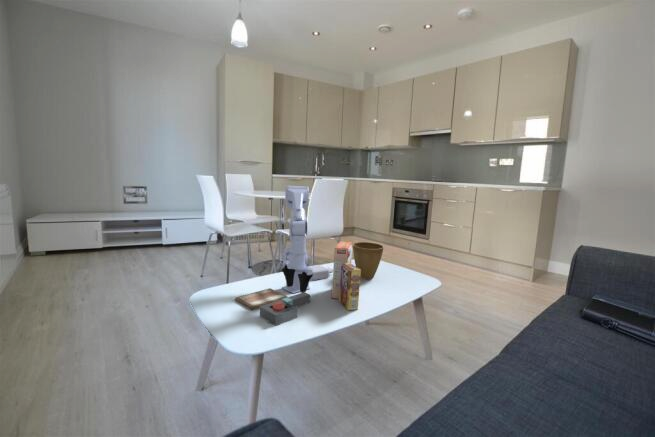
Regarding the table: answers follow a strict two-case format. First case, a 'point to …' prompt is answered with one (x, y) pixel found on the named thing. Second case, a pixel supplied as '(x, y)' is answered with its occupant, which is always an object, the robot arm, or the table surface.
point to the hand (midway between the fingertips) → (296, 289)
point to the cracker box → (340, 257)
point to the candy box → (349, 286)
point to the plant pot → (367, 258)
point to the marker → (298, 299)
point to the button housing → (278, 313)
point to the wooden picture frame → (260, 298)
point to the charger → (320, 272)
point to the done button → (278, 306)
